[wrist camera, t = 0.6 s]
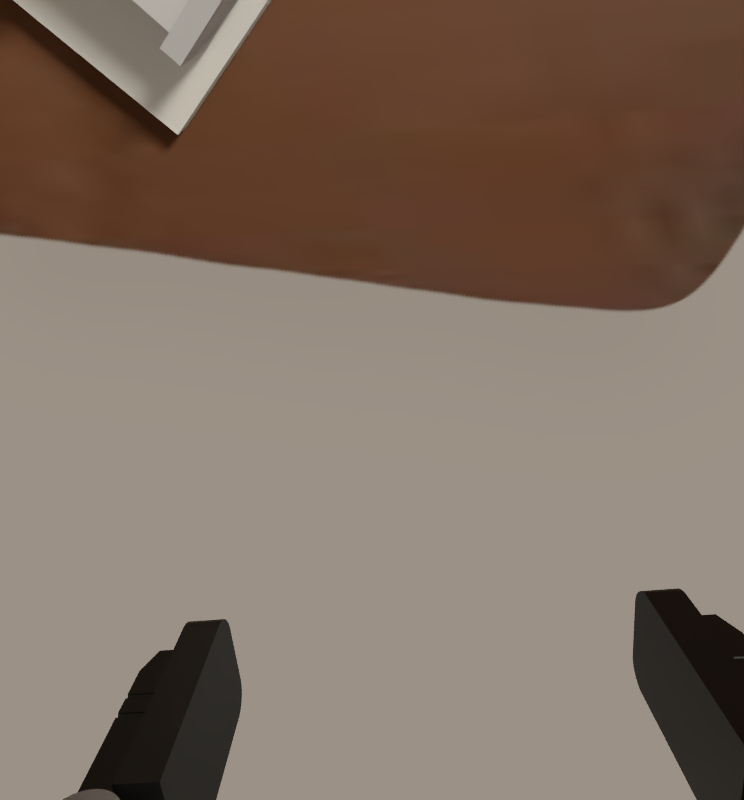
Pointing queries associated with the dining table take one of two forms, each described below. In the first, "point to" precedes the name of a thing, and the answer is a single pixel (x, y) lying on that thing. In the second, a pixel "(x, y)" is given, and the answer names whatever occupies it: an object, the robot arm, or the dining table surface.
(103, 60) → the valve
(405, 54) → the dining table surface
